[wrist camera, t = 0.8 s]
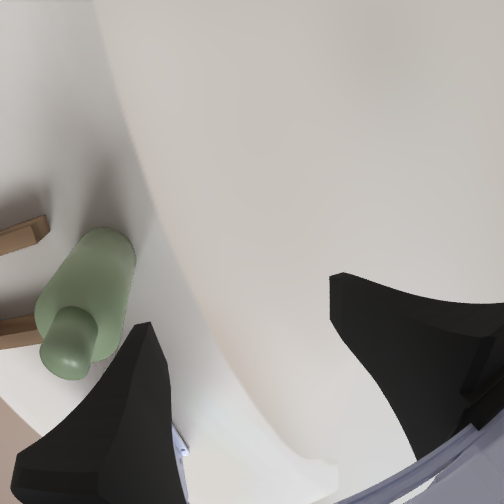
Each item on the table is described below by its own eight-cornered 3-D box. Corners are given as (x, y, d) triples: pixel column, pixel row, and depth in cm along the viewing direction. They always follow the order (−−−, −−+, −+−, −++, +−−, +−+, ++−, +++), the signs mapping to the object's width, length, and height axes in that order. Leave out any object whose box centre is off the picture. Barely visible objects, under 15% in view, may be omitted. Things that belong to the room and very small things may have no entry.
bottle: (143, 280, 20) (132, 391, 11) (88, 292, 19) (49, 400, 10) (125, 220, 18) (88, 304, 9) (67, 236, 18) (-1, 323, 8)
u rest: (83, 317, 20) (76, 337, 18) (-7, 335, 18) (-18, 352, 16) (45, 214, 17) (30, 225, 14) (-46, 250, 15) (-62, 262, 13)
